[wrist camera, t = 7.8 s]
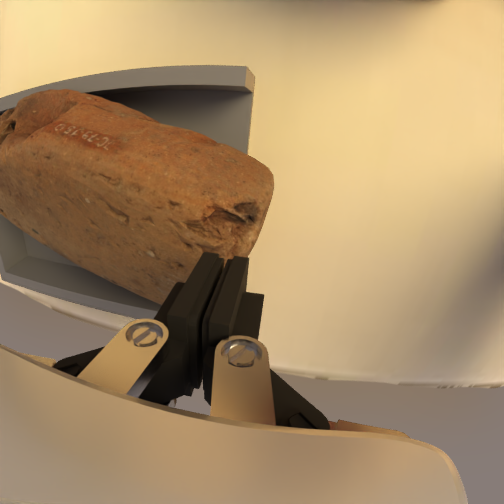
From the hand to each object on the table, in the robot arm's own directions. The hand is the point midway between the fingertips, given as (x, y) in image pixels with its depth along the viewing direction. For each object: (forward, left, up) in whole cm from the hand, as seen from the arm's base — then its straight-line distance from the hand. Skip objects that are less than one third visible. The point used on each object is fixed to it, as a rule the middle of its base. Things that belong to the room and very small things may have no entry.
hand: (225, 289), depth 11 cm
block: (0, +2, -7) cm, 7 cm away
